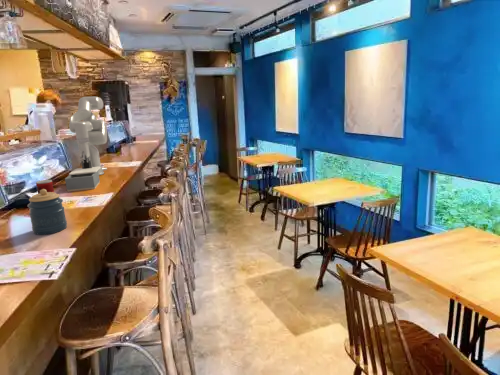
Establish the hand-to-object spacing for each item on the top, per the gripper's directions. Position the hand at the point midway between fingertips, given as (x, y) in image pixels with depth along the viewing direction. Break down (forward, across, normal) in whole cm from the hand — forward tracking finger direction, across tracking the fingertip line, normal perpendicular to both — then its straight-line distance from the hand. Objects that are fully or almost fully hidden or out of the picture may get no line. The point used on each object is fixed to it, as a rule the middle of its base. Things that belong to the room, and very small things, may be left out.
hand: (87, 167), depth 251 cm
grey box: (+9, +18, 0) cm, 21 cm away
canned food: (+10, +47, -14) cm, 50 cm away
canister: (+10, +104, +2) cm, 105 cm away
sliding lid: (+1, +7, 0) cm, 8 cm away
